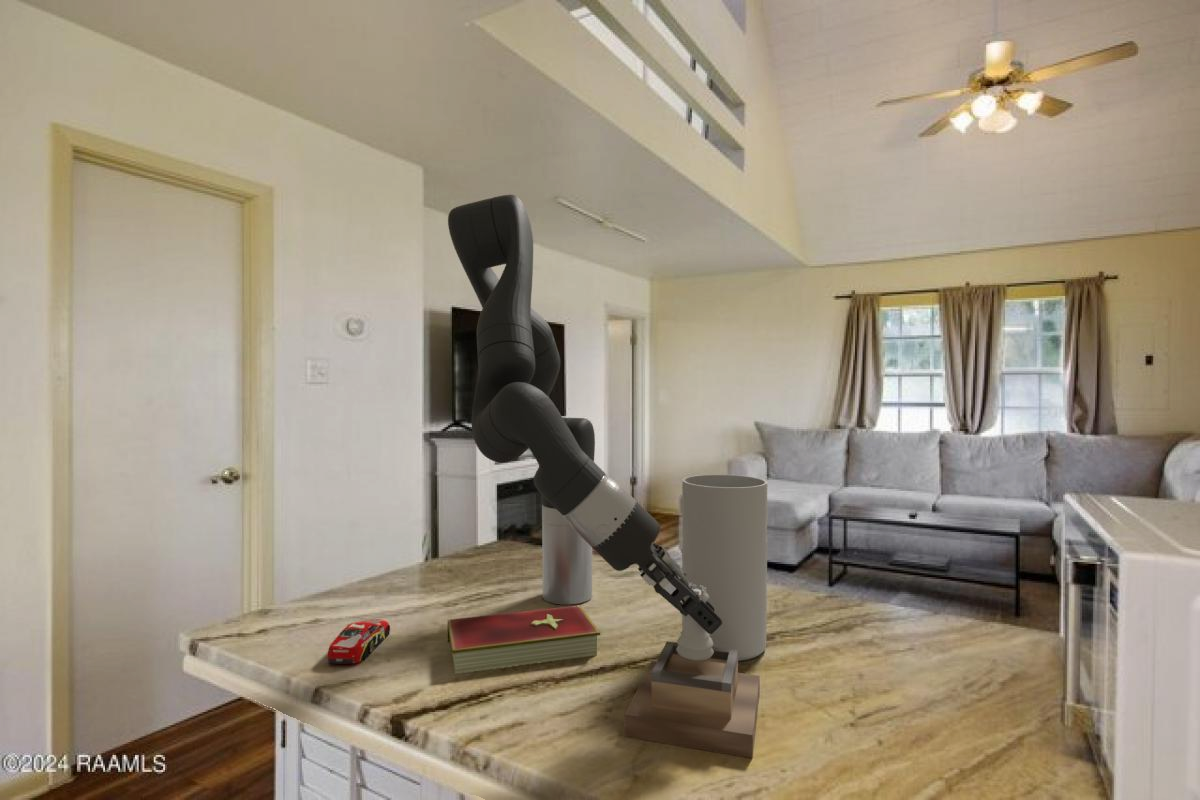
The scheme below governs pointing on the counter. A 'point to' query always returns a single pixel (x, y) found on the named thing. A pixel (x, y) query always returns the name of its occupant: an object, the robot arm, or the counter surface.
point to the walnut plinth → (695, 723)
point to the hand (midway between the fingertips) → (712, 620)
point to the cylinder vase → (728, 555)
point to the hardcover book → (521, 638)
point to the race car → (357, 641)
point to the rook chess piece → (695, 636)
